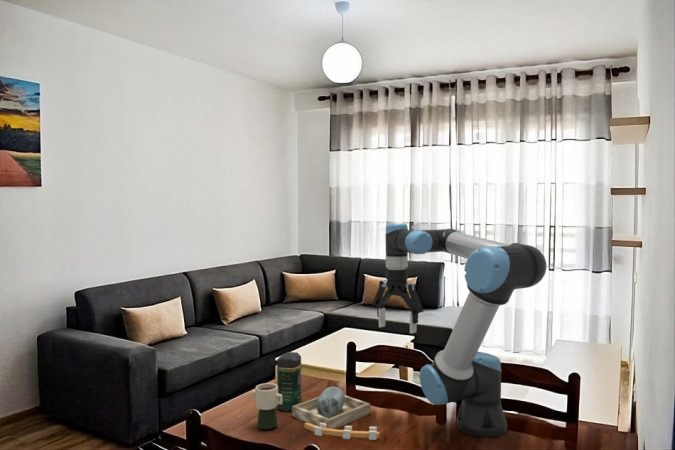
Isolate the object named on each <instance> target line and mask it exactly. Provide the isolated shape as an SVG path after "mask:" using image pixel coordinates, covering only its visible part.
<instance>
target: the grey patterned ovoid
mask: <svg viewBox="0 0 675 450" xmlns="http://www.w3.org/2000/svg"><path fill="white" fill-rule="evenodd" d="M345 395H346V394H345V392H344V391H343V390H342V389H341V388H339V387H338V386H333V385H331V386H329V387H327V388H325V389H324V390H323V391H322V392H321V393H320V395H319V396H318V397H319V398H318V401H317V404H316V407H317V411H318V412H319V413H320V415H322V416H324V417H326V418H332V417H334V416H336V415H338V413H339V412H340V410H341V408H342V407H343V405H344V403H345Z"/></svg>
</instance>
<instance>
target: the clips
mask: <svg viewBox="0 0 675 450" xmlns="http://www.w3.org/2000/svg"><path fill="white" fill-rule="evenodd" d="M322 428H327V424H325V423H320V427H318V426H315V427H314V432H313V433H314V436H318V437H321V436H323V434H322ZM368 428H369V430H368V431H369V438H368V440H370V441H377V439H378V438H377V434H376V432H378V426H369V427H368ZM342 430H343V437H342V439H343V440H351V437H350V431H353V425H344V429H342Z"/></svg>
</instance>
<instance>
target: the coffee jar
mask: <svg viewBox="0 0 675 450" xmlns="http://www.w3.org/2000/svg"><path fill="white" fill-rule="evenodd" d="M276 370H277V371H276V372H277V374H276V375H277V383H276V385H278V394H282V400H283V402H282V404H278V406H277V407H276V408H277V409H278V410H281V411H284V412H290V411H291V412H292V406H294V405H297V404H300V403H303V401H302V355H301V354H299V353H298V352H295V351H287V352H286V353H283V354H281V355H280V356H279V357H278V358H277V360H276Z"/></svg>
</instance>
